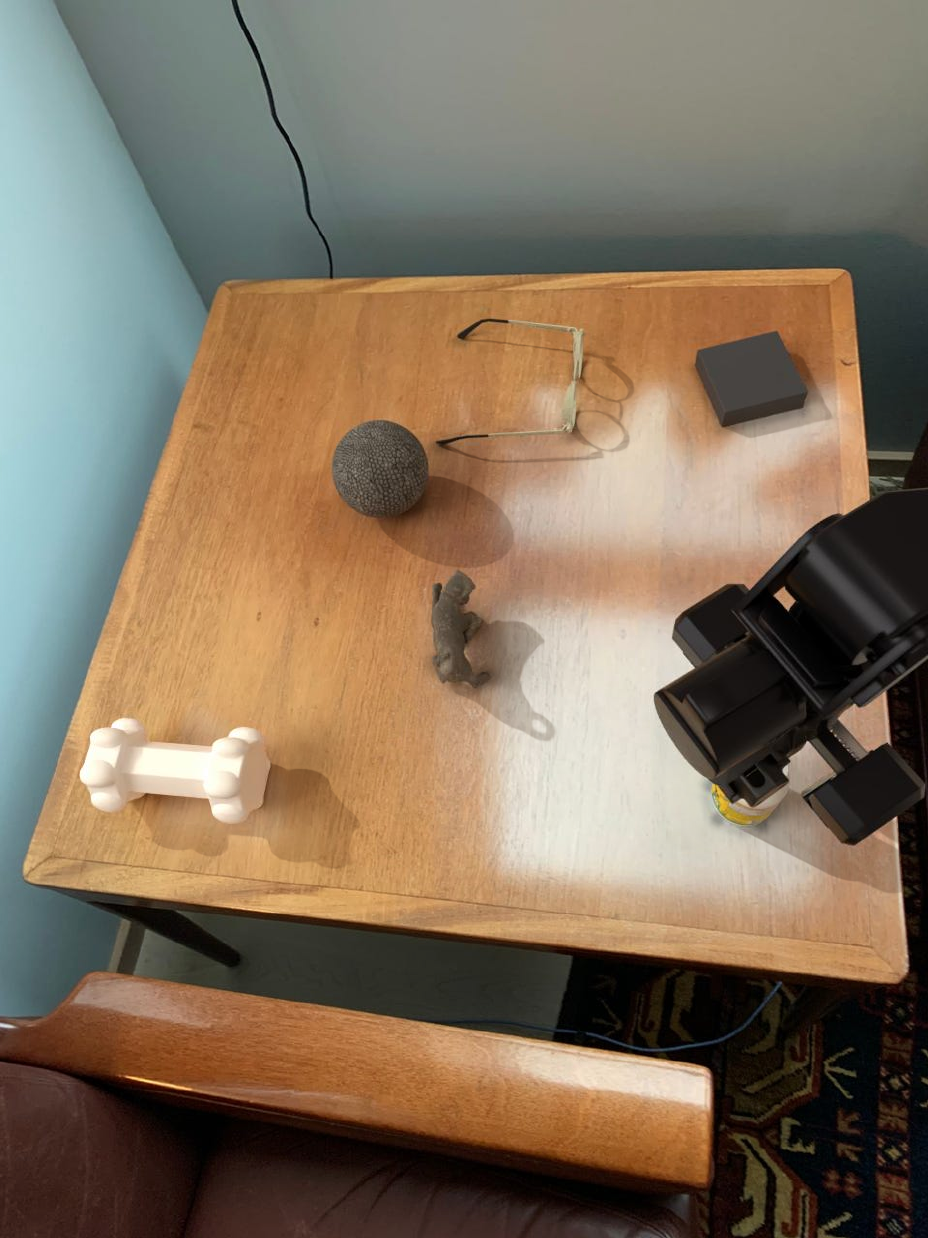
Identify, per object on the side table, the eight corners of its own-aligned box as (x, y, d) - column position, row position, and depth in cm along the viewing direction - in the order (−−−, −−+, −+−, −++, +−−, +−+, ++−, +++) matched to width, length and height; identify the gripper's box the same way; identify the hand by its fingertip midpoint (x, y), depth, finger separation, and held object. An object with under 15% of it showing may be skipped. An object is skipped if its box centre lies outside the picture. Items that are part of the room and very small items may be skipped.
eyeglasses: (571, 457, 94) (570, 428, 89) (434, 449, 96) (427, 420, 92) (585, 337, 101) (586, 305, 96) (458, 333, 103) (452, 301, 99)
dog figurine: (491, 697, 83) (484, 667, 76) (432, 700, 83) (419, 671, 77) (488, 586, 88) (480, 549, 81) (432, 590, 89) (420, 553, 82)
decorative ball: (405, 443, 97) (387, 383, 88) (452, 504, 93) (439, 447, 84) (328, 489, 96) (303, 432, 87) (373, 552, 91) (351, 499, 83)
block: (772, 346, 97) (777, 329, 95) (803, 407, 93) (808, 391, 91) (694, 365, 97) (697, 349, 95) (721, 427, 93) (725, 412, 91)
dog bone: (279, 743, 83) (251, 715, 76) (260, 834, 80) (228, 813, 72) (135, 732, 86) (94, 703, 78) (110, 819, 82) (64, 798, 75)
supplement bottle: (763, 837, 74) (787, 810, 66) (701, 813, 76) (717, 784, 67) (780, 780, 76) (806, 747, 68) (720, 757, 78) (738, 722, 69)
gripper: (616, 618, 55) (607, 703, 69) (818, 871, 47) (762, 909, 61) (755, 531, 57) (719, 631, 71) (974, 762, 49) (885, 824, 63)
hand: (765, 743), depth 66 cm, fingers open, 9 cm apart
